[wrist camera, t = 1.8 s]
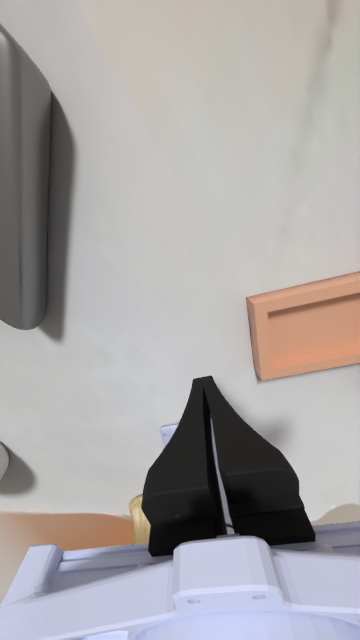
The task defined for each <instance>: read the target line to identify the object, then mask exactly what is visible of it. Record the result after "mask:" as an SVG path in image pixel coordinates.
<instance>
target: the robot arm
mask: <svg viewBox="0 0 360 640" xmlns="http://www.w3.org/2000/svg"><path fill="white" fill-rule="evenodd" d="M210 414H211V417H210ZM211 418H212V419H211ZM160 433H161V436H162V438H163V441H164V443H165V446H166V447H165V448H164V450H163V451H162V453H161V454H160V456H159V457H158V458H157V460H156V461H155V462H154V463H153V465H152V466H151V467H150V469H149V470H148V473H147V477H146V481H145V484H144V489H143V496H142V503H141V509H142V512H143V513H144V515H145V517H146V518H147V520H148V522H149V523H150V525H151V526H150V535H149V543H140V544H131V545H120V546H110V547H101V548H91V549H81V550H71V551H63V550H62V548H61V547H59V546H58V545H56V544H42V545H34V546H31V547H30V548H29V550H28V552H27V554H26V556H25V558H24V560H23V562H22V564H21V566H20V568H19V570H18V572H17V574H16V576H15V578H14V580H13V582H12V584H11V586H10V588H9V590H8V592H7V594H6V596H5V598H4V600H3V602H2V604H1V606H0V640H360V521H356V522H346V523H336V524H327V525H316V526H312V525H311V523H310V521H309V519H308V517H307V514H306V512H305V510H304V508H305V507H304V504H303V502H302V500H301V498H300V496H299V480H298V477H297V475H296V473H295V471H294V470H293V468H292V467H291V465H290V464H289V462H288V461H287V459H286V458H285V457H284V455H283V454H282V453H281V452H280V450H278V449H277V448H275V447H274V446H273V445H271V444H270V443H269V442H268V441H266V440H265V439H264V438H263V437H261V436H260V435H259V434H258V433H257V432H256V431H254V430H253V429H252V428H251V427H250V426H249V425H248V424H247V423H246V422H245V421H244V420H243V419H242V418H241V417H240V416H239V415H238V414H237V413H236V412H235V411H234V409H233V408H232V407H231V406H230V405H229V403H228V402H227V401H226V399H225V398H224V397H223V395H222V394H221V392H220V391H219V389H218V387H217V386H216V384H215V382H214V380H213V377H212V376H206V377H201V378H196V379H193V383H192V388H191V392H190V396H189V399H188V402H187V405H186V408H185V410H184V413H183V415H182V418H181V420H180V422H179V424H176V425H170V426H164V427H161V428H160Z"/></svg>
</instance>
